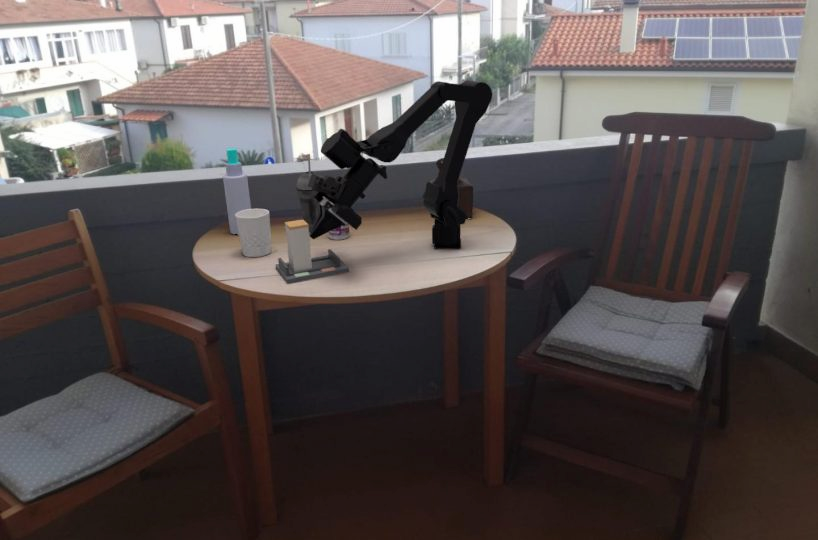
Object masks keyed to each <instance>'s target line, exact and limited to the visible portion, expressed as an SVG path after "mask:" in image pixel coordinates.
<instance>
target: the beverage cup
mask: <svg viewBox="0 0 818 540" xmlns="http://www.w3.org/2000/svg"><path fill="white" fill-rule="evenodd" d="M307 160H308V162H307V164H308V165H307V166H308V171H306V172H304V173H302V174H301V175H300V176H299V177H298V179H297V182H296V188H295V190H296V191H297V195H298V199H299V203H300V211H301V215H302V220H304V221H305V222H306V223H307V224H308V225H309V227H308V228H309V233H311V230H312V228H313V225H314V223H315V220H316V218H317V215H318V207H317V204H316V202H318V203H320V202H319V201H318V200H316V199H315V198H314V197H313V196H311V195H310V193H311V192H312V191H313V190H312V189H311V187H308V183H309V180H310V177H311V174H312V173H315V174H317V173H316V172H314V171H311V154H310V153H309V154H307Z"/></svg>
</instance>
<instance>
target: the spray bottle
mask: <svg viewBox="0 0 818 540" xmlns="http://www.w3.org/2000/svg"><path fill="white" fill-rule="evenodd" d="M226 156H227V162H226V163H225V170H226V171H225V172H226V173H225V174H223V175H222V179H223V181H222V182H223V187H224V188H223V189H224V194H225V203H226V208H227V217H228V223H229V224H228V225H229V232H230V233H231V234H232V235H235V234H237V235H236V236H239V234H238V228H237V223H236V217H235V214H236V213H237V212H239V211H242V210H247V209H252V205H251V198H250V189H249V182H248V181H249V179H248V174H247V173H246V172H244V171H243V165H242V162H240V161H239V157H238V156H239V155H238V149H237V148H228V149H226Z"/></svg>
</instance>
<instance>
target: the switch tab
mask: <svg viewBox="0 0 818 540" xmlns="http://www.w3.org/2000/svg"><path fill="white" fill-rule="evenodd" d="M284 227H285V236H286V245H287V248H286V249H287V255H288V256H287V257H288V262H289V266H290V267H291V269H292V270H293V271H294V272H297V271H302V270H307V269H312V263H311V258H312V255H311V254H312V252H311V243H310V242H311V241H310V236H309V235H310V232H309V228H308V227H309V225H308V224H307V223H306V222H305V221H304V220H303V219H296V220H292V221H291V220H290V221H285V222H284Z"/></svg>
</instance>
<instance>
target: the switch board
mask: <svg viewBox="0 0 818 540" xmlns="http://www.w3.org/2000/svg"><path fill="white" fill-rule="evenodd" d="M277 261H278V263H277V264H274V265H275V269H276V271H277V272H278V273H279V275H280V276H281V277H282V278H283V281H285V283H286V284H287V285H289V284H293V283H294V284H295V283H299V282H303V281H309V280H315V279H320V278H325V277H329V276H336V275H340V274H341V275H342V274H345V273H350V267H349V266H348V265H347V264H346V263H344V262H343V261H342V260H341V257H340V256H339V255H337V254H336V253H335V252H334V251H333V250H332V249H327V255H320V256H315V257H311V263H312V269H307V270H302V271H297V272H294V271H293V270H292V269H291V267H290V266H289V261H287V262H285V261H284V260H283V259H282V257H278V258H277Z"/></svg>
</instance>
